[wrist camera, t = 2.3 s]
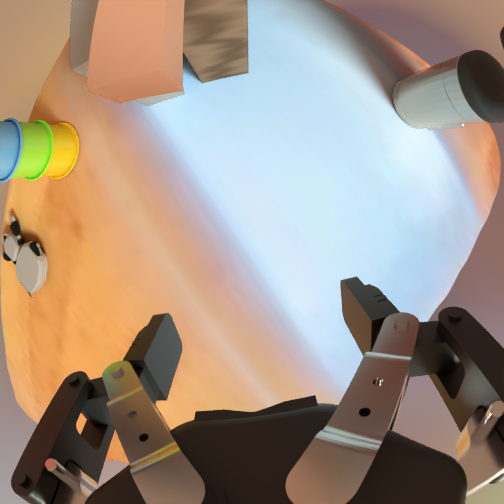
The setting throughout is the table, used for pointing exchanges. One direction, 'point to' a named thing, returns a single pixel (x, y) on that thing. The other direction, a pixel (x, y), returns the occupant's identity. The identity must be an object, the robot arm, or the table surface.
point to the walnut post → (216, 37)
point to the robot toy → (25, 258)
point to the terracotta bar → (136, 49)
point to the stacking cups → (36, 149)
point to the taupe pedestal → (81, 42)
